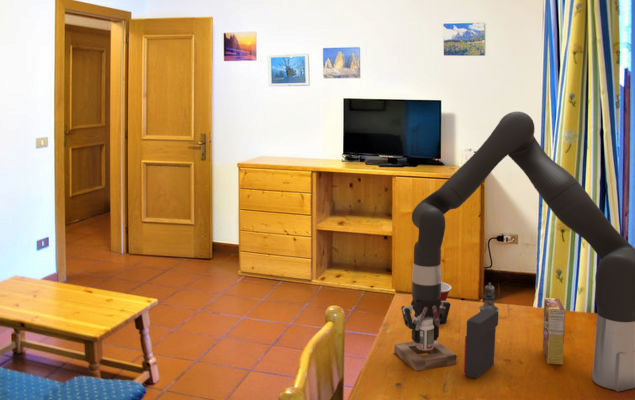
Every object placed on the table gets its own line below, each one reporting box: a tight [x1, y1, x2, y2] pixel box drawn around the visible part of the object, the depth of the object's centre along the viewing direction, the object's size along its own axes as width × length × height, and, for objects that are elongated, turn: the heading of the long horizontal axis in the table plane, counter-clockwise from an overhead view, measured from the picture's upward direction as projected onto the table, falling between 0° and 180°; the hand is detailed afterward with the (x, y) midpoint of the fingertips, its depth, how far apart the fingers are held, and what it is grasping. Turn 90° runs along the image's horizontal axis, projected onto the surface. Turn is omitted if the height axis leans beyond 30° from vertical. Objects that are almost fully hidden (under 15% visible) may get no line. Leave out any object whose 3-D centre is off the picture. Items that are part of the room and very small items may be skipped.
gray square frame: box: [393, 340, 457, 372], centre depth 171 cm, size 12×12×2 cm
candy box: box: [542, 297, 566, 365], centre depth 169 cm, size 9×4×15 cm, turn 168°
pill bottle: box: [416, 317, 434, 351], centre depth 170 cm, size 5×5×8 cm
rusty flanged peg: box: [478, 282, 499, 312], centre depth 198 cm, size 6×6×12 cm
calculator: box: [463, 309, 499, 380], centre depth 162 cm, size 11×4×15 cm, turn 141°
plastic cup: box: [437, 281, 452, 315], centre depth 197 cm, size 11×11×12 cm
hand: (425, 340), depth 170 cm, fingers closed on pill bottle, 4 cm apart
